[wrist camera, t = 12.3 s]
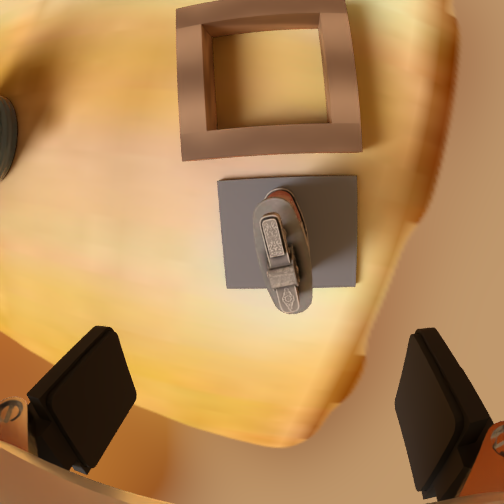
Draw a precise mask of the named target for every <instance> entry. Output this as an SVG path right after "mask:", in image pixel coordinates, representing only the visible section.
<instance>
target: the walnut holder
mask: <svg viewBox="0 0 504 504" xmlns="http://www.w3.org/2000/svg"><path fill="white" fill-rule="evenodd" d="M286 29H318V31H319V39H320V47H321V55H322V64H323V73H324V83H325V94H326V106H327V118H328V123H317V124H287V125H268V126H254V127H242V128H231V129H221V130H217V116H216V99H215V82H214V64H213V44H212V37H219V36H226V35H233V34H241V33H249V32H259V31H271V30H286ZM176 52H177V83H178V105H179V123H180V138H181V152H182V161H197V160H207V159H218V158H229V157H242V156H257V155H275V154H299V153H357V152H362V134H361V120H360V107H359V96H358V86H357V77H356V68H355V60H354V53H353V46H352V39H351V32H350V26H349V20H348V15H347V9H346V4H345V0H218V1H212V2H207V3H202V4H197V5H192V6H187V7H183V8H178V9H176Z"/></svg>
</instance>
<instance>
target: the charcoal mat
mask: <svg viewBox="0 0 504 504" xmlns="http://www.w3.org/2000/svg"><path fill="white" fill-rule="evenodd" d="M217 185H218V197H219V210H220V221H221V233H222V244H223V255H224V265H225V276H226V286H227V289H254V288H267V287H266V285H265V282H264V279H263V276H262V273H261V270H260V267H259V264H258V259H257V254H256V248H255V243H254V232H253V211H254V209H255V208H256V206H257V205H258V204H259V203H260V202H261V201H262V200H264V199H265V197H266V195H267V194H268V193H269V192H270V191H271V190H273V189H275V188H281V187H283V188H287V189H289V190H290V191H292V192H293V194H294V195H295V197H296V200H297V202H298V204H299V206H300V209H301V211H302V214H303V217H304V221H305V224H306V227H307V233H308V240H309V247H310V259H311V269H312V288H326V287H355V285H356V262H357V176H299V177H273V178H253V179H236V180H222V181H217Z"/></svg>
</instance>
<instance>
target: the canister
mask: <svg viewBox="0 0 504 504" xmlns="http://www.w3.org/2000/svg"><path fill="white" fill-rule="evenodd" d="M16 143H17V119H16V114H15V110H14V107H13V105H12V103H11V102H10V101H9V100H8V99H7V98H6V97H3V96H1V95H0V181H1V180H2V179H3V178H4V177H5V175H6V174H7V172H8V170H9V168H10V166H11V164H12V161H13V157H14V154H15V149H16Z"/></svg>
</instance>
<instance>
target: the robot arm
mask: <svg viewBox="0 0 504 504" xmlns="http://www.w3.org/2000/svg"><path fill="white" fill-rule="evenodd" d="M27 396H28V398H29V399H30V403H29V405H27V403H26V401H25V400H24V399H22V398H20V397H9V398H6V399H4V400H2V401H0V504H173V503H169V502H164V501H160V500H156V499H152V498H148V497H144V496H141V495H137V494H134V493H130V492H127V491H123V490H120V489H117V488H114V487H110V486H108V485H104V484H102V483H99V482H96V481H93V480H91V479H88V478H85V477H83V476H80V475H77V474H75V473H73V472H70V468H71V467H73V468H74V470H76V471H79V472H81V473H84V474H86V475H87V474H88V473H89V471H90V469H91V468H94V467H95V466H96V465H97V463H98V462H99V460H100V458H101V457H102V455H103V453H104V452H105V450H106V448H107V446H108V445H109V443H110V442H111V440H112V438H113V437H114V435H115V433H116V432H117V430H118V428H119V427H120V425H121V424H122V422H123V420H124V419H125V417H126V415H127V414H128V412H129V410H130V409H131V407H132V406H133V404H134V402H135V400H136V390H135V387H134V384H133V381H132V378H131V375H130V373H129V370H128V367H127V363H126V360H125V357H124V354H123V351H122V348H121V344H120V341H119V338H118V335H117V333H116V332H114V330H113V329H112V328H111V327H104V326H95V327H93V328H92V329H91V330H90V331H89V332H88V333H87V334H86V335H85V336H84V337H83V338H82V339H81V340H80V341H79V342H78V343H77V344H76V345H75V346H74V347H73V348H72V349H71V350H70V351H69V352H68V353H67V354H65V355H64V356H63V357H62V358H61V359H60V360H59V361H58V362H57V363H56V364H55V365H54V366H53V367H52V369H51V370H49V372H48V373H47V374H46V375H45V376H44V377H43V378H42V379H41V380H40V381H39V382H38V383H37V384H36V385H35V386H34V387H33V388H32V389H31V390H30V391H29V392H28V393H27ZM395 410H396V413H397V417H398V420H399V424H400V427H401V431H402V435H403V438H404V442H405V446H406V450H407V454H408V458H409V462H410V466H411V470H412V474H413V478H414V483H415V487H416V489H417V491H422V495H423V499H428V498H432V497H437V501H438V502H433V503H427V504H504V421H500V422H498V423H495V424H494V423H493V421H492V419H491V418H490V416H489V414H488V412H487V410H486V408H485V407H484V405H483V403H482V401H481V399H480V398H479V396H478V394H477V392H476V391H475V389H474V387H473V386H472V384H471V382H470V380H469V379H468V377H467V376H466V374H465V372H464V371H463V369H462V368H461V367H460V366H459V364H458V362H457V361H456V359H455V357H454V356H453V355H452V353H451V351H450V350H449V348H448V346H447V345H446V343H445V342H444V340H443V339H442V337H441V336H440V334H439V333H438V331H437V330H436V329H435V328H424V329H417V330H416V332H415V334H411V336H410V338H409V343H408V348H407V353H406V358H405V362H404V366H403V371H402V375H401V379H400V383H399V387H398V391H397V395H396V398H395Z"/></svg>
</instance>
